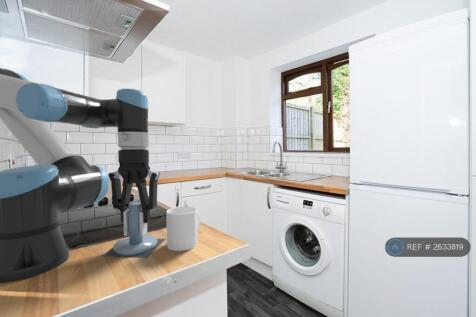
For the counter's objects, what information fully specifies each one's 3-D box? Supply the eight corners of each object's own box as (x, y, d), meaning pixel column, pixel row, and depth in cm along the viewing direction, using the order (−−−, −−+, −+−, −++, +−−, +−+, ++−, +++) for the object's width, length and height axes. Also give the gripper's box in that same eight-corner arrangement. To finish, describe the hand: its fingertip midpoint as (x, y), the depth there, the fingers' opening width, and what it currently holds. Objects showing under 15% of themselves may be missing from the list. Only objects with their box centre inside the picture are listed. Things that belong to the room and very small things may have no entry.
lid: (103, 255, 58) (102, 209, 57) (128, 238, 69) (127, 199, 68) (145, 256, 57) (144, 209, 56) (163, 239, 68) (162, 199, 67)
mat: (100, 258, 57) (100, 256, 57) (127, 239, 69) (127, 237, 69) (146, 260, 56) (146, 257, 56) (166, 240, 68) (165, 238, 68)
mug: (189, 234, 73) (189, 202, 73) (210, 239, 69) (210, 205, 69) (160, 249, 63) (159, 212, 62) (183, 255, 59) (183, 216, 58)
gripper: (94, 148, 59) (97, 238, 60) (157, 148, 57) (159, 240, 58) (112, 148, 66) (115, 228, 67) (169, 148, 65) (170, 230, 66)
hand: (135, 234), depth 63 cm, fingers open, 4 cm apart
